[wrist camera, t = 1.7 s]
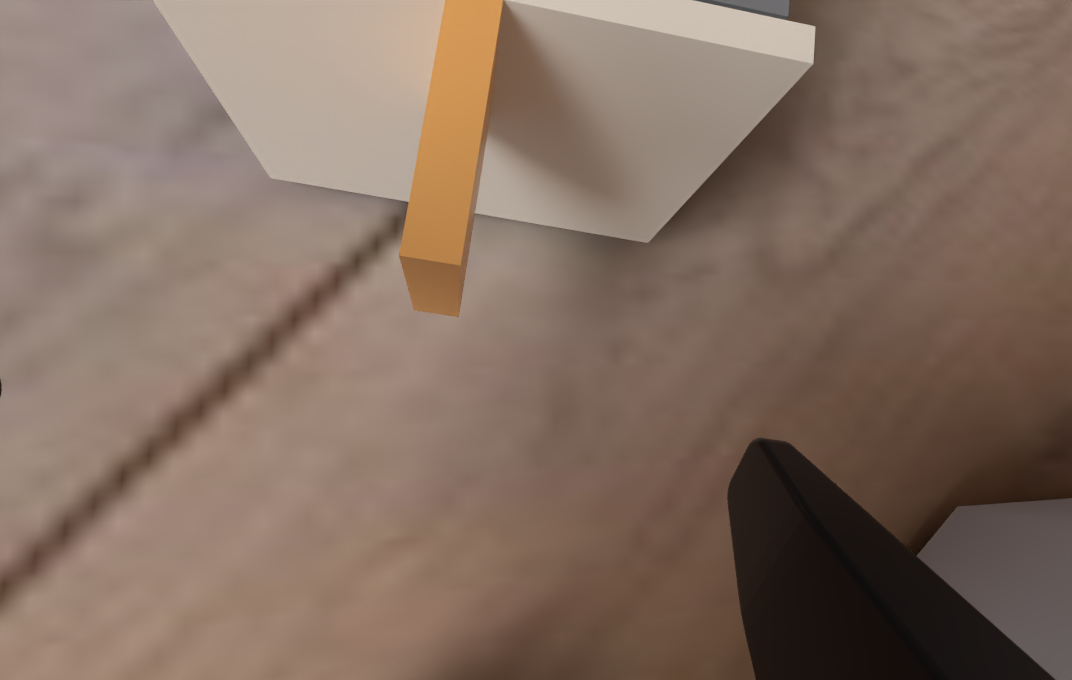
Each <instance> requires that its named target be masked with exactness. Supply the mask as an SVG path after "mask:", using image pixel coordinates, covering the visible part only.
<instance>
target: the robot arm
mask: <svg viewBox="0 0 1072 680" xmlns="http://www.w3.org/2000/svg"><path fill="white" fill-rule="evenodd" d="M1 391H2V386H1V380H0V396H1ZM727 499H728V509H729V518H730V526H731V535H732V543H733V552H734V560H735V569H736V577H737V586H738V594H739V601H740V608H741V615H742V620H743V624H744V629H745V634H746V639H747V643H748V647H749V652H750V656H751V660H752V665H753V669H754V673H755V678H756V680H1056V679H1055V678H1054V677H1052V676H1051V675H1050V674H1049V673H1048V672H1047V671H1046V670H1045V669H1043V668H1042V667H1041V666H1040V665H1039V664H1038V663H1037V662H1036V661H1034V660H1033V659H1032V658H1031V657H1030V656H1029V655H1028V654H1027V653H1025V652H1024V651H1023V650H1022V649H1021V648H1020V647H1019V646H1018V645H1016V644H1015V643H1014V642H1013V641H1012V640H1011V639H1010V638H1008V637H1007V636H1006V635H1005V634H1004V633H1003V632H1002V631H1001V630H999V629H998V628H997V627H996V626H995V625H994V624H993V623H992V622H990V621H989V620H988V619H987V618H986V617H985V616H984V615H983V614H981V613H980V612H979V611H978V610H977V609H976V608H975V607H974V606H972V605H971V604H970V603H969V602H968V601H967V600H966V599H965V598H963V597H962V596H961V595H960V594H959V593H958V592H957V591H956V590H954V589H953V588H952V587H951V586H950V585H949V584H948V583H947V582H945V581H944V580H943V579H942V578H941V577H940V576H939V575H938V574H936V573H935V572H934V571H933V570H932V569H931V568H930V567H928V566H927V565H926V564H925V563H924V562H923V561H922V560H921V559H919V558H918V557H917V556H916V555H915V554H914V553H913V552H912V551H910V550H909V549H908V548H907V547H906V546H905V545H904V544H903V543H901V542H900V541H899V540H898V539H897V538H896V537H895V536H894V535H892V534H891V533H890V532H889V531H888V530H887V529H886V528H885V527H883V526H882V525H881V524H880V523H879V522H878V521H877V520H876V519H874V518H873V517H872V516H871V515H870V514H869V513H868V512H867V511H865V510H864V509H863V508H862V507H861V506H860V505H859V504H858V503H856V502H855V501H854V500H853V499H852V498H851V497H850V496H849V495H847V494H846V493H845V492H844V491H843V490H842V489H841V488H839V487H838V486H837V485H836V484H835V483H834V482H833V481H832V480H830V479H829V478H828V477H827V476H826V475H825V474H824V473H823V472H821V471H820V470H819V469H818V468H817V467H816V466H815V465H814V464H812V463H811V462H810V461H809V460H808V459H807V458H806V457H805V456H803V455H802V454H801V453H800V452H799V451H798V450H797V449H796V448H794V447H793V446H792V445H791V444H789V443H787V442H785V441H779V440H772V439H765V438H757V439H754V440H753V441H752V442H751V443H750V444H749V446H748V448H747V450H746V452H745V453H744V455H743V457H742V459H741V461H740V463H739V465H738V467H737V469H736V471H735V473H734V475H733V477H732V479H731V481H730V484H729V487H728V496H727Z"/></svg>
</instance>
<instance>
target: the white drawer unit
mask: <svg viewBox="0 0 1072 680" xmlns="http://www.w3.org/2000/svg"><path fill="white" fill-rule="evenodd" d="M153 2H154V3H155V5H156V6H157V8H158V9H159V11H160V12H161V14H162V15H163V17H164V18H165V20H166V21H167V23H168V24H169V26H170V27H171V29H172V30H173V32H174V33H175V35H176V36H177V38H178V39H179V41H180V42H181V44H182V45H183V47H184V48H185V50H186V51H187V53H188V54H189V56H190V57H191V59H192V60H193V62H194V63H195V65H196V66H197V68H198V69H199V71H200V72H201V74H202V75H203V77H204V79H205V80H206V82H207V83H208V85H209V86H210V88H211V89H212V91H213V92H214V94H215V95H216V97H217V98H218V100H219V101H220V103H221V104H222V106H223V107H224V109H225V110H226V112H227V113H228V115H229V116H230V118H231V119H232V121H233V122H234V124H235V125H236V127H237V128H238V130H239V131H240V133H241V134H242V136H243V137H244V139H245V140H246V142H247V143H248V145H249V146H250V148H251V149H252V151H253V153H254V154H255V156H256V157H257V159H258V160H259V162H260V163H261V165H262V166H263V168H264V169H265V171H266V172H267V174H268V175H269V177H270V178H273V179H279V180H285V181H291V182H296V183H302V184H308V185H314V186H320V187H325V188H331V189H337V190H343V191H349V192H354V193H360V194H366V195H372V196H378V197H384V198H389V199H395V200H401V201H407V202H409V204H408V209H407V215H406V221H405V226H404V232H403V237H402V243H401V248H400V254H399V257H400V260H401V264H402V268H403V271H404V275H405V279H406V282H407V286H408V290H409V293H410V297H411V301H412V304H413V308H414V310H417V311H423V312H430V313H436V314H443V315H449V316H455V317H459V311H460V305H461V299H462V292H463V286H464V280H465V273H466V267H467V261H468V254H469V248H470V242H471V235H472V229H473V223H474V216H475V213H477V214H482V215H488V216H494V217H500V218H506V219H511V220H517V221H523V222H529V223H535V224H540V225H546V226H552V227H558V228H564V229H570V230H575V231H581V232H587V233H593V234H599V235H604V236H610V237H616V238H622V239H628V240H634V241H639V242H645V243H648V242H649V241H650V240H651V239H652V238H653V237H654V236H655V235H656V234H657V233H658V232H659V230H660V229H661V228H662V227H663V226H664V225H665V224H666V223H667V222H668V221H669V220H670V219H671V217H672V216H673V215H674V214H675V213H676V212H677V211H678V210H679V209H680V208H681V207H682V206H683V204H684V203H685V202H686V201H687V200H688V199H689V198H690V197H691V196H692V195H693V194H694V193H695V191H696V190H697V189H698V188H699V187H700V186H701V185H702V184H703V183H704V182H705V181H706V180H707V178H708V177H709V176H710V175H711V174H712V173H713V172H714V171H715V170H716V169H717V168H718V167H719V165H720V164H721V163H722V162H723V161H724V160H725V159H726V158H727V157H728V156H729V155H730V154H731V152H732V151H733V150H734V149H735V148H736V147H737V146H738V145H739V144H740V143H741V142H742V141H743V139H744V138H745V137H746V136H747V135H748V134H749V133H750V132H751V131H752V130H753V129H754V128H755V126H756V125H757V124H758V123H759V122H760V121H761V120H762V119H763V118H764V117H765V116H766V115H767V113H768V112H769V111H770V110H771V109H772V108H773V107H774V106H775V105H776V104H777V103H778V102H779V100H780V99H781V98H782V97H783V96H784V95H785V94H786V93H787V92H788V91H789V90H790V89H791V87H792V86H793V85H794V84H795V83H796V82H797V81H798V80H799V79H800V78H801V77H802V76H803V75H804V73H805V72H806V71H807V70H808V69H809V68H810V67H811V66H812V65H813V62H814V43H815V26H811V25H806V24H802V23H797V22H792V21H788V20H783V19H778V18H774V17H769V16H764V15H760V14H755V13H750V12H746V11H741V10H736V9H732V8H727V7H722V6H718V5H713V4H708V3H703V2H699V1H694V0H153Z"/></svg>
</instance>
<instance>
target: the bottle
mask: <svg viewBox="0 0 1072 680" xmlns="http://www.w3.org/2000/svg"><path fill="white" fill-rule="evenodd" d="M917 557H918V558H919V559H921V560H922V561H923V562H924V563H925V564H926V565H927V566H928V567H930V568H931V569H932V570H933V571H934V572H935V573H936V574H938V575H939V576H940V577H941V578H942V579H943V580H944V581H945V582H947V583H948V584H949V585H950V586H951V587H952V588H953V589H954V590H956V591H957V592H958V593H959V594H960V595H961V596H962V597H963V598H965V599H966V600H967V601H968V602H969V603H970V604H971V605H972V606H974V607H975V608H976V609H977V610H978V611H979V612H980V613H981V614H983V615H984V616H985V617H986V618H987V619H988V620H989V621H990V622H992V623H993V624H994V625H995V626H996V627H997V628H998V629H999V630H1001V631H1002V632H1003V633H1004V634H1005V635H1006V636H1007V637H1008V638H1010V639H1011V640H1012V641H1013V642H1014V643H1015V644H1016V645H1018V646H1019V647H1020V648H1021V649H1022V650H1023V651H1024V652H1025V653H1027V654H1028V655H1029V656H1030V657H1031V658H1032V659H1033V660H1034V661H1036V662H1037V663H1038V664H1039V665H1040V666H1041V667H1042V668H1043V669H1045V670H1046V671H1047V672H1048V673H1049V674H1050V675H1051V676H1052V677H1054V678H1055V679H1056V680H1072V498H1068V499H1054V500H1040V501H1026V502H1013V503H999V504H985V505H971V506H958V507H957V508H956V509H955V510H954V511H953V512H952V514H951V515H950V516H949V517H948V518H947V520H946V521H945V522H944V523H943V525H942V526H941V527H940V528H939V529H938V531H937V532H936V533H935V534H934V536H933V537H932V538H931V539H930V540H929V542H928V543H927V544H926V545H925V547H924V548H923V549H922V550H921V551H920V553H919V554H918V555H917Z"/></svg>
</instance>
